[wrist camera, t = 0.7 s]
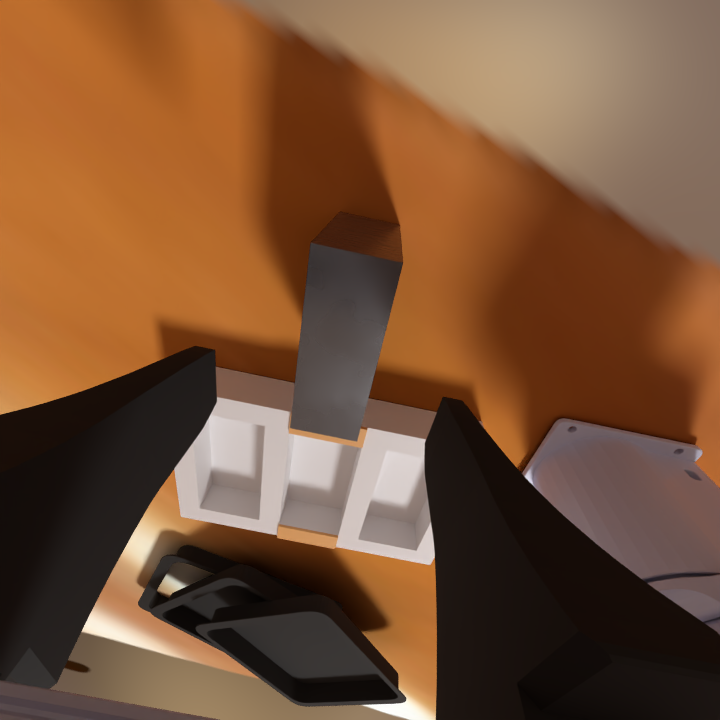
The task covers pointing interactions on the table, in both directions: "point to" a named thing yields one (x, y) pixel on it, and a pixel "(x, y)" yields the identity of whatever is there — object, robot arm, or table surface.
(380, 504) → the tray
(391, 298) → the panel
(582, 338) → the table surface
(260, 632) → the tray
